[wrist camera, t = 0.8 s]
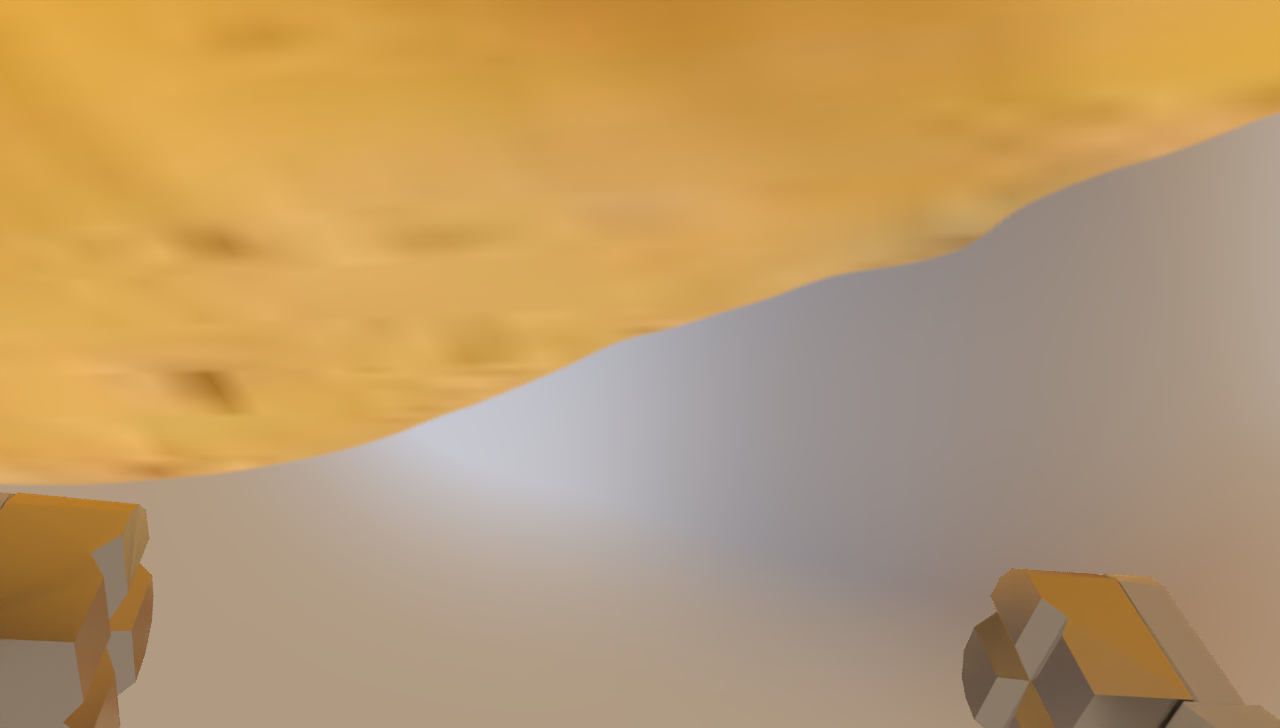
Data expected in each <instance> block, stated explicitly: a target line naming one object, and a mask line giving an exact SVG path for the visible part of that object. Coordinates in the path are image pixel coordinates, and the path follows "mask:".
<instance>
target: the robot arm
mask: <svg viewBox="0 0 1280 728" xmlns="http://www.w3.org/2000/svg"><path fill="white" fill-rule="evenodd" d="M148 540H149V532H148V524H147V516H146V509H144V508H143V507H142V506H141V505H139V504H131V503H120V502H110V501H99V500H89V499H77V498H67V497H58V496H47V495H37V494H26V493H17V494H10V493H1V492H0V728H119V727H120V718H119V707H118V698H117V696H118V695H119V694H120V693H122V692H123V691H124V690H125V689H127V688H128V687H129V686H131V685H132V684H133V683H135V682H136V680H137V676H138V673H139V671H140V668H141V665H142V662H143V659H144V656H145V653H146V647H147V643H148V637H149V633H150V628H151V623H152V611H153V582H152V575H151V574H150V573H149V572H148V571H147V570H146V569H145V568H144V567H143V566H142V565H141V564H140V561H141V558H142V555H143V553H144V550H145V548H146V545H147V543H148ZM991 598H992V601H993V604H994V606H995V609H996V613H994V614H993V615H991V616H990V617H989V618H987V619H985V620H984V621H983V622H981V623H979V624H978V625H976V626H975V627H974V629H973V631H972V634H971V636H970V638H969V640H968V642H967V644H966V647H965V649H964V654H963V668H962V681H963V686H964V692H965V697H966V700H967V702H968V705H969V707H970V710H971V713H972V715H973V717H974V720H976V721H977V722H978V723H979V724H980V725H981V726H982V727H983V728H1280V720H1279V719H1278V718H1276V717H1275V716H1274V715H1272V714H1270V713H1269V712H1268V711H1266V710H1265V709H1264V708H1262V707H1261V706H1256V705H1246V704H1245V703H1244V701H1243V700H1242V698H1241V697H1240V695H1239V694H1238V693H1237V691H1236V690H1235V688H1234V687H1233V685H1232V684H1231V682H1230V681H1229V679H1228V678H1227V677H1226V675H1225V674H1224V673H1223V671H1222V669H1221V668H1220V667H1219V665H1218V664H1217V662H1216V661H1215V659H1214V658H1213V656H1212V655H1211V653H1210V652H1209V650H1208V649H1207V647H1206V646H1205V645H1204V643H1203V642H1202V640H1201V639H1200V637H1199V636H1198V634H1197V633H1196V632H1195V630H1194V629H1193V627H1192V626H1191V624H1190V623H1189V621H1188V620H1187V618H1186V617H1185V615H1184V614H1183V613H1182V611H1181V610H1180V608H1179V607H1178V606H1177V604H1176V602H1175V601H1174V599H1173V598H1172V597H1171V595H1170V594H1169V592H1168V591H1167V589H1166V588H1165V587H1164V586H1163V585H1162V584H1161V583H1159V582H1158V581H1156V580H1155V579H1153V578H1152V577H1148V576H1131V575H1114V574H1104V575H1098V574H1090V573H1074V572H1059V571H1042V570H1028V569H1013V568H1012V569H1011V570H1010V571H1008V572H1007V573H1006V574H1004V575H1003V576H1002V577H1001V578H1000V579H999V581H998V583H997V585H996V587H995V589H994V590H993V592H992V594H991Z"/></svg>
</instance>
